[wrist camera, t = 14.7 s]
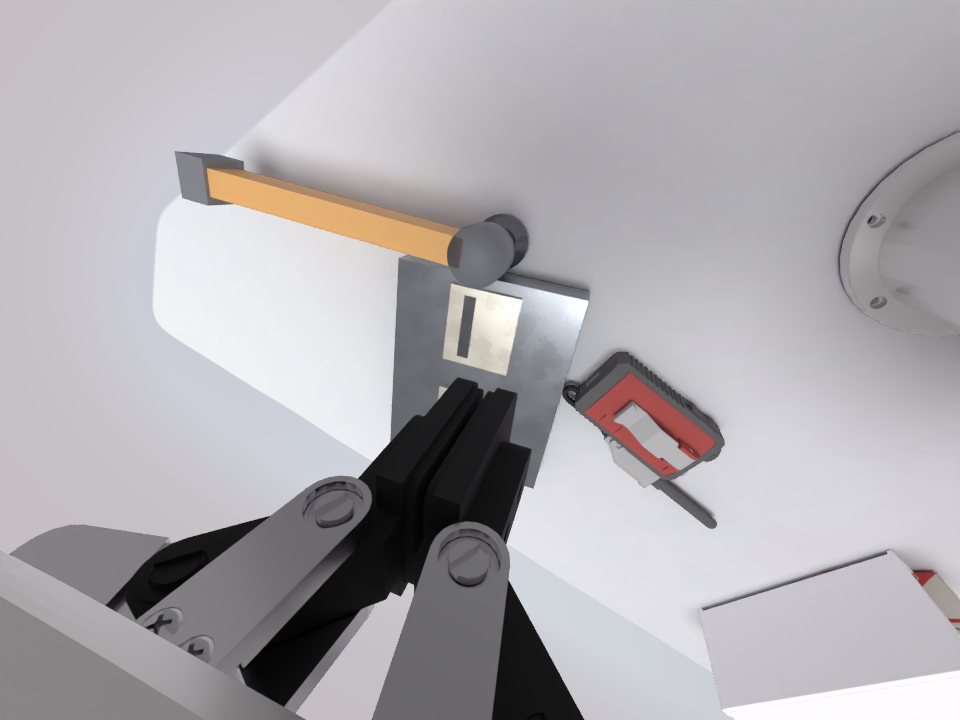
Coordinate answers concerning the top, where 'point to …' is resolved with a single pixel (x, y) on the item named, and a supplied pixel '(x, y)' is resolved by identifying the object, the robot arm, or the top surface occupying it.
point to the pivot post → (513, 234)
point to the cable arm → (350, 217)
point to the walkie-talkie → (648, 426)
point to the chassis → (484, 345)
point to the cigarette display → (840, 647)
